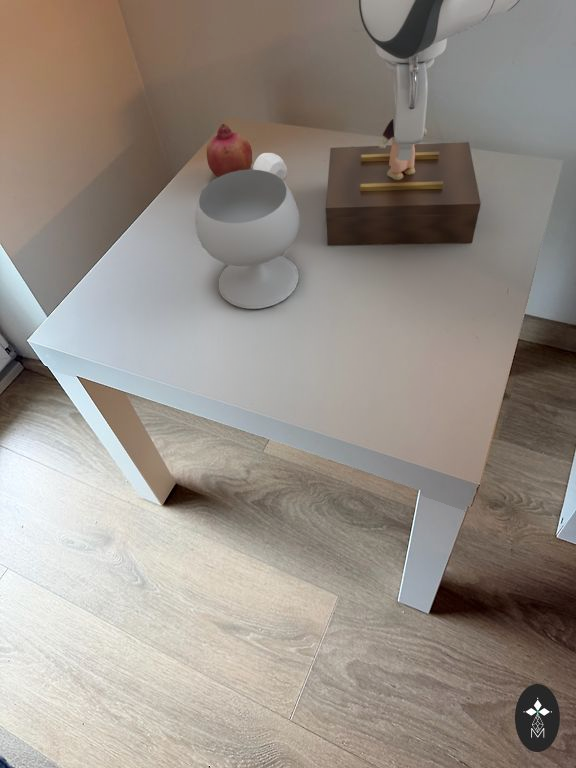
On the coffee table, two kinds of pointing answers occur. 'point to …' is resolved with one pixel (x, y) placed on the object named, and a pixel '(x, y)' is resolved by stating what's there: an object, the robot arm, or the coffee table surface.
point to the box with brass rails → (402, 196)
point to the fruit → (228, 152)
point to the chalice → (250, 236)
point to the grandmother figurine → (394, 162)
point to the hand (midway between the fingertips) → (402, 139)
